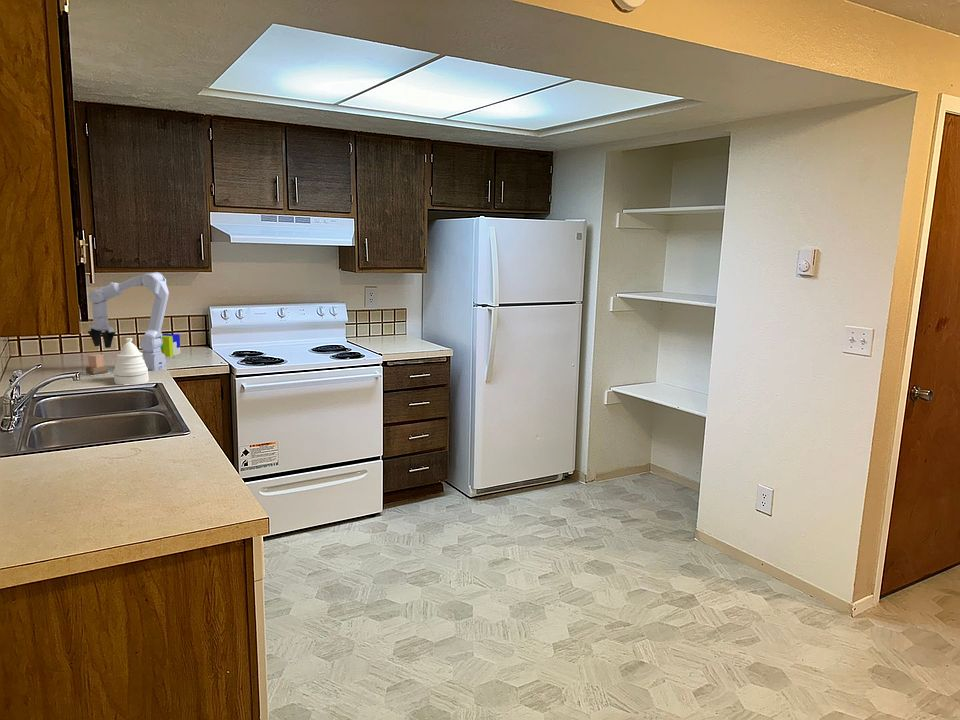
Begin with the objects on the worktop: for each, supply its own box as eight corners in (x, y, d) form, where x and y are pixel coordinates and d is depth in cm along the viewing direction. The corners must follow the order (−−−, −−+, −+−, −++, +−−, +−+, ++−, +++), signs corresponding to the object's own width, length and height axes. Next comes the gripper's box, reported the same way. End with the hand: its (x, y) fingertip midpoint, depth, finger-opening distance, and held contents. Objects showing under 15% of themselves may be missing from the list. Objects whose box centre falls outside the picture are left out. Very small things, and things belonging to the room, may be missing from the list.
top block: (103, 366, 292) (103, 354, 291) (96, 367, 288) (95, 356, 287) (96, 365, 292) (95, 354, 292) (88, 367, 289) (87, 355, 288)
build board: (132, 372, 299) (132, 369, 299) (91, 379, 284) (91, 376, 284) (116, 369, 305) (116, 366, 305) (76, 375, 290) (76, 372, 290)
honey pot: (115, 379, 284) (112, 337, 281) (149, 377, 290) (146, 336, 286) (112, 385, 273) (109, 342, 270) (148, 383, 278) (145, 340, 275)
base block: (107, 373, 292) (107, 366, 291) (93, 375, 287) (93, 368, 286) (99, 371, 295) (99, 364, 294) (85, 373, 290) (85, 366, 289)
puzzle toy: (180, 353, 349) (179, 334, 347) (169, 356, 339) (168, 337, 337) (162, 352, 350) (161, 333, 348) (151, 355, 340) (149, 336, 338)
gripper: (119, 317, 299) (121, 347, 302) (98, 314, 306) (100, 344, 308) (104, 318, 293) (106, 349, 296) (83, 316, 300) (85, 346, 302)
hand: (102, 346), depth 302 cm, fingers open, 7 cm apart
